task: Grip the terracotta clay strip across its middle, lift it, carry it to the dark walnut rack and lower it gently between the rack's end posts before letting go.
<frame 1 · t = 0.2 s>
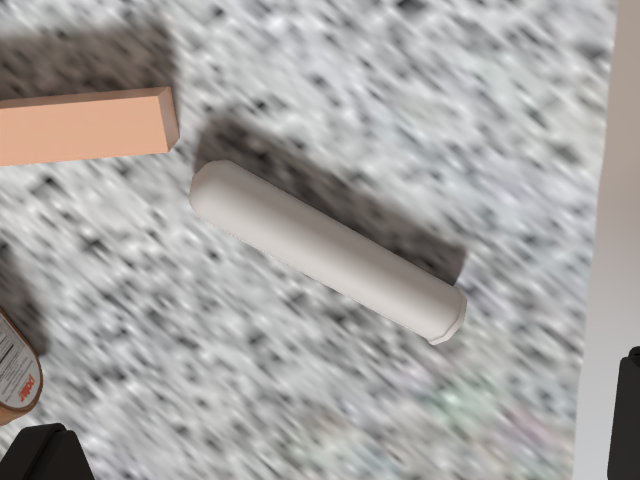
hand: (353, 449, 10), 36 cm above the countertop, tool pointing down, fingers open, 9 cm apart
clay strip: (73, 120, 43), on the countertop
tube: (326, 238, 48), on the countertop
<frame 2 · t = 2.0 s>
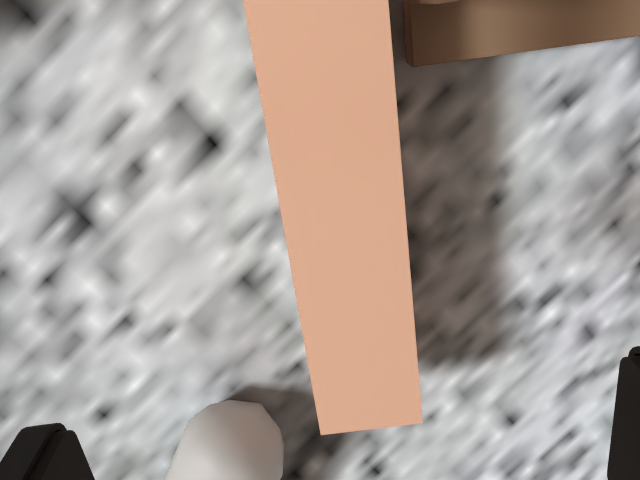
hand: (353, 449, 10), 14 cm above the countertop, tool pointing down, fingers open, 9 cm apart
clay strip: (340, 198, 22), on the countertop
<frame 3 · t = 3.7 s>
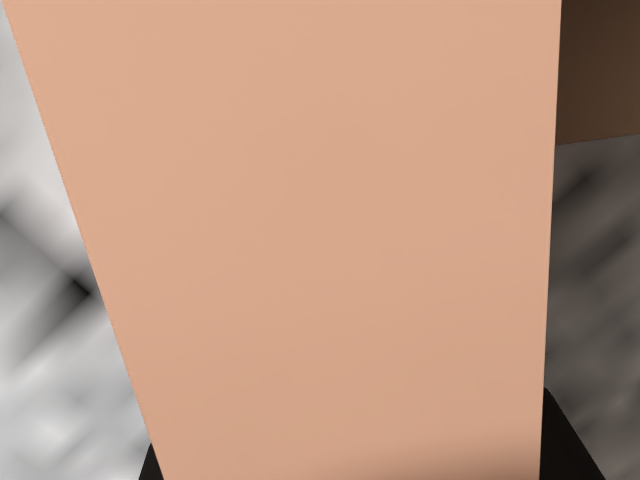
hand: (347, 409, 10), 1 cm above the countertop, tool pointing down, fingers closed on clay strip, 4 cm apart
clay strip: (345, 387, 11), on the countertop, touching gripper
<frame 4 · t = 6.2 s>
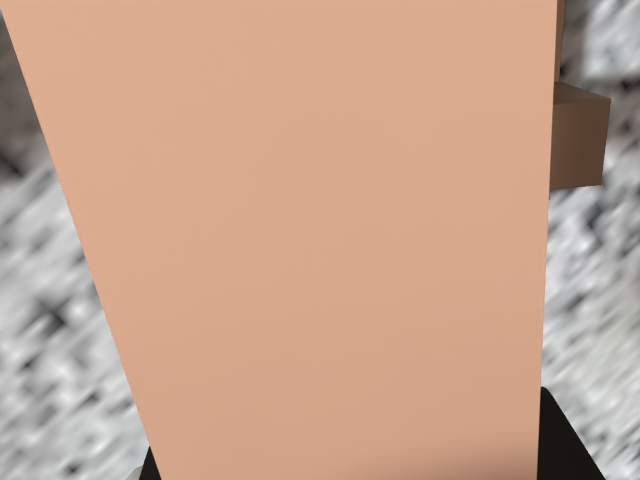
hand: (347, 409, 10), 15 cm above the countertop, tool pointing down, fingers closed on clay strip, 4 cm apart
clay strip: (344, 388, 11), point 15 cm above the countertop, touching gripper
when the fingers open (3 cm above the countertop, at t = 8.9 s): clay strip stays where it is, resting on rack.
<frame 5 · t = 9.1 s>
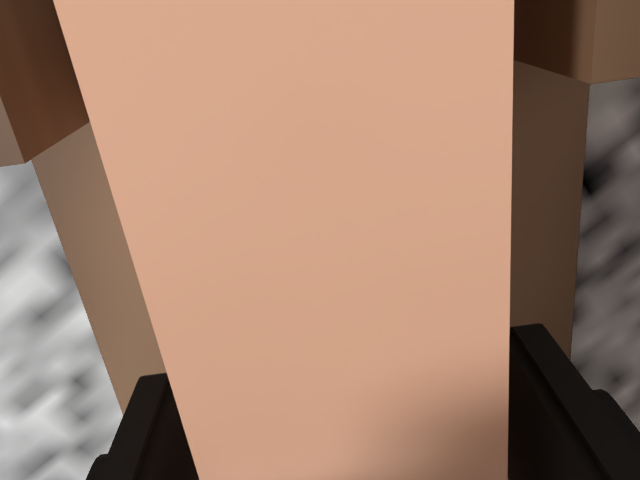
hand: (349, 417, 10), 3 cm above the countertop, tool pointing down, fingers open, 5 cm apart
clay strip: (343, 371, 12), point 1 cm above the countertop, touching rack
rack: (336, 320, 13), on the countertop
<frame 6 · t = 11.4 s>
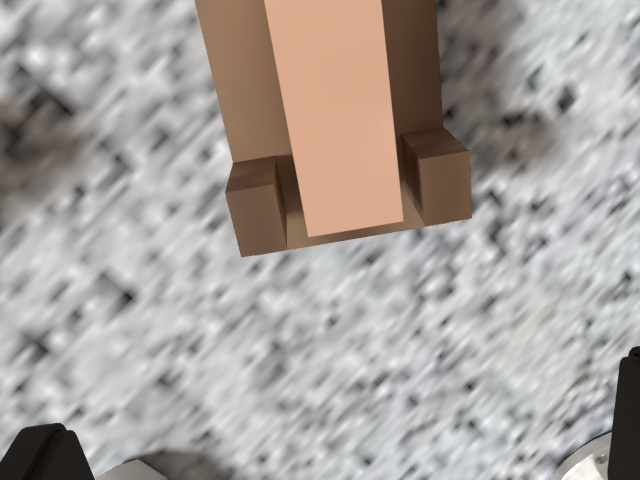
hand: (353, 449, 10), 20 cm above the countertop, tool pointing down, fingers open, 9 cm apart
clay strip: (319, 17, 23), point 1 cm above the countertop, touching rack
rack: (315, 6, 25), on the countertop
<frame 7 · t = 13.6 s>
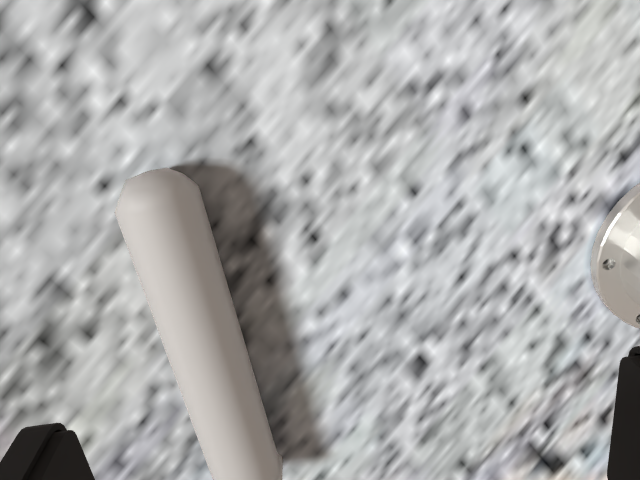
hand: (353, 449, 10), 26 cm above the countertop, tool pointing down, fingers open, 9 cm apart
tube: (211, 324, 40), on the countertop
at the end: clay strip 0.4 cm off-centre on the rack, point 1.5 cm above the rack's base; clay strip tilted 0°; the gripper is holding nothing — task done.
